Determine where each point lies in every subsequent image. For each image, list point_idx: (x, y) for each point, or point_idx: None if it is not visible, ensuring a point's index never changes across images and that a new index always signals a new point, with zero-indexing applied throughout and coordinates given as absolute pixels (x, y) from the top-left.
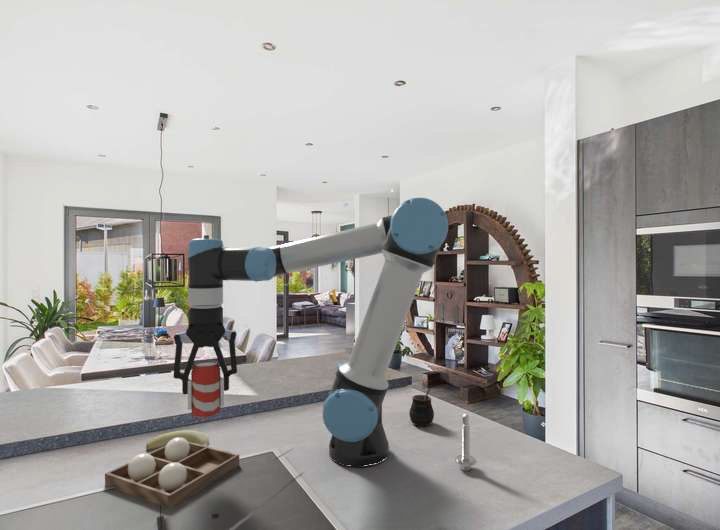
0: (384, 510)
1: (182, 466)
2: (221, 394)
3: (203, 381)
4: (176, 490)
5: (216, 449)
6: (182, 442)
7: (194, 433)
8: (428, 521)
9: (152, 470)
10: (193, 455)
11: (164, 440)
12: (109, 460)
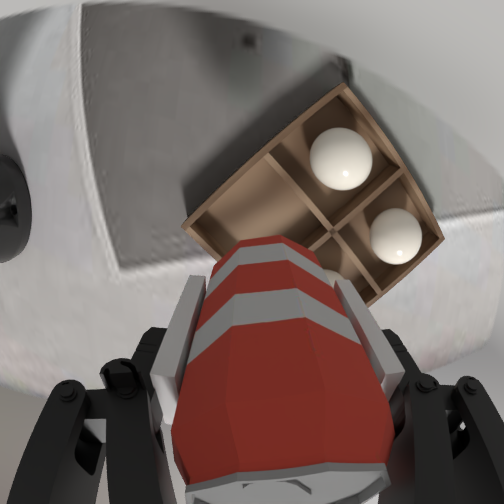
0: (21, 35)
1: (326, 155)
2: (189, 307)
3: (314, 339)
4: (331, 96)
5: None
6: None
7: None
8: (4, 20)
9: (377, 218)
10: None
11: None
12: (413, 325)
